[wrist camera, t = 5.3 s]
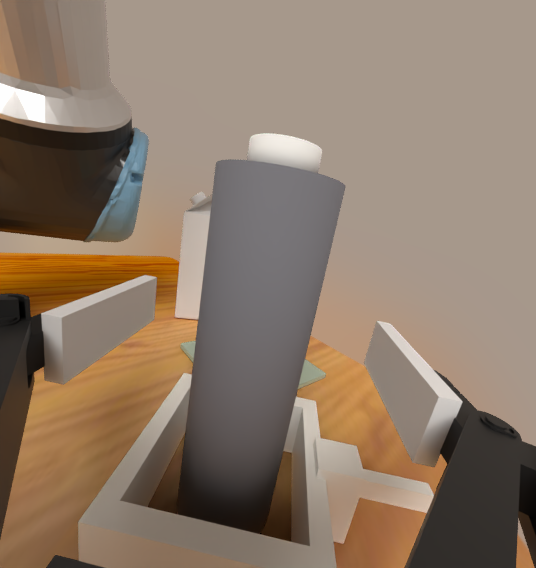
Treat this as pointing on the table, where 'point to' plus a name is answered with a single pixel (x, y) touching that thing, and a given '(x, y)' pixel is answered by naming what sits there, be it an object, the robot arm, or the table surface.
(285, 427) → the grey thermos flask
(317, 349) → the table surface
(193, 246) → the milk carton
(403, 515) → the table surface
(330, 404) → the table surface
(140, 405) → the table surface
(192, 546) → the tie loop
